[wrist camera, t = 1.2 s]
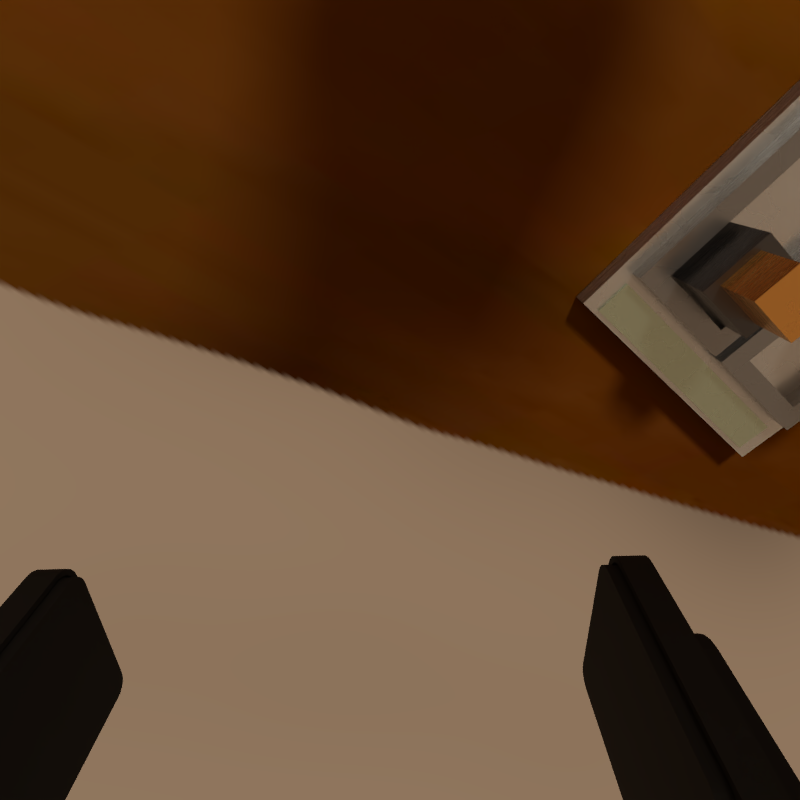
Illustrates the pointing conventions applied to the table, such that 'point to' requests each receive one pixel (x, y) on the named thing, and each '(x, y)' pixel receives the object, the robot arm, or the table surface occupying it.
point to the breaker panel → (722, 286)
